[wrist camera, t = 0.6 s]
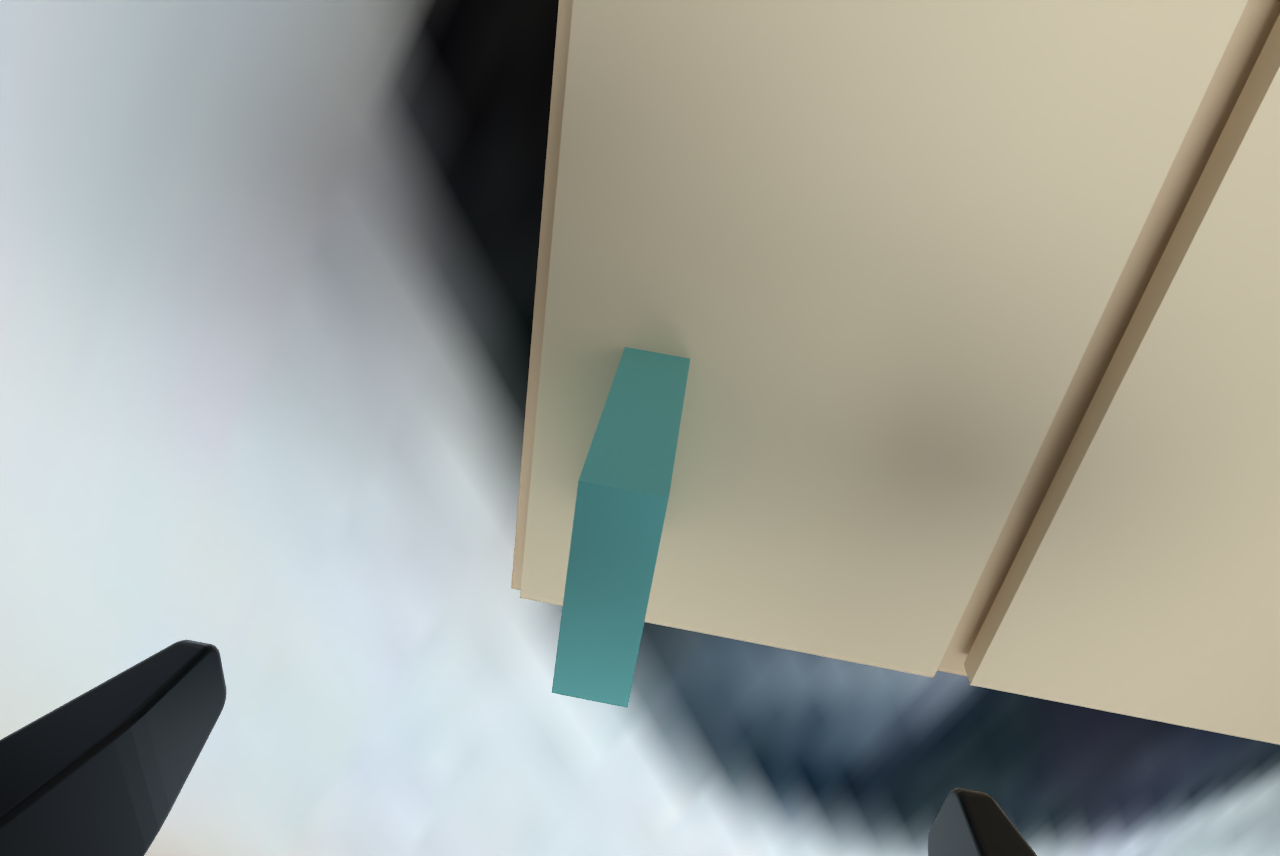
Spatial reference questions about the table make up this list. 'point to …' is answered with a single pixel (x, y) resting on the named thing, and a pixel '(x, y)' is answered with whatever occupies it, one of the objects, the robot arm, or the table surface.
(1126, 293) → the carton
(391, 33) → the table surface
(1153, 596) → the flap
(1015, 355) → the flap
